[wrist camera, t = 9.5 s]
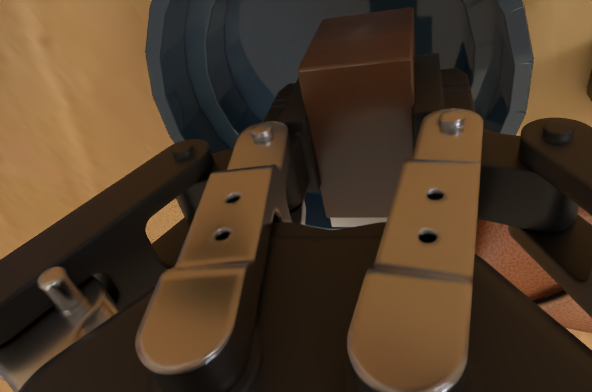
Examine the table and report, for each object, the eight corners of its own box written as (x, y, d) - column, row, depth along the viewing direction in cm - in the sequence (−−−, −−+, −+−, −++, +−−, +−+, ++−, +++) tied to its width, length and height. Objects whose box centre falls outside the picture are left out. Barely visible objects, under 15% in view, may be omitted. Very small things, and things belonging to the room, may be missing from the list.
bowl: (154, -97, 18) (78, -74, 14) (526, -185, 14) (569, -189, 10) (243, 174, 27) (211, 236, 23) (492, 165, 23) (509, 239, 19)
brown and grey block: (294, 22, 13) (263, 72, 10) (444, 1, 12) (453, 52, 9) (332, 222, 18) (317, 292, 15) (441, 222, 17) (446, 298, 14)
